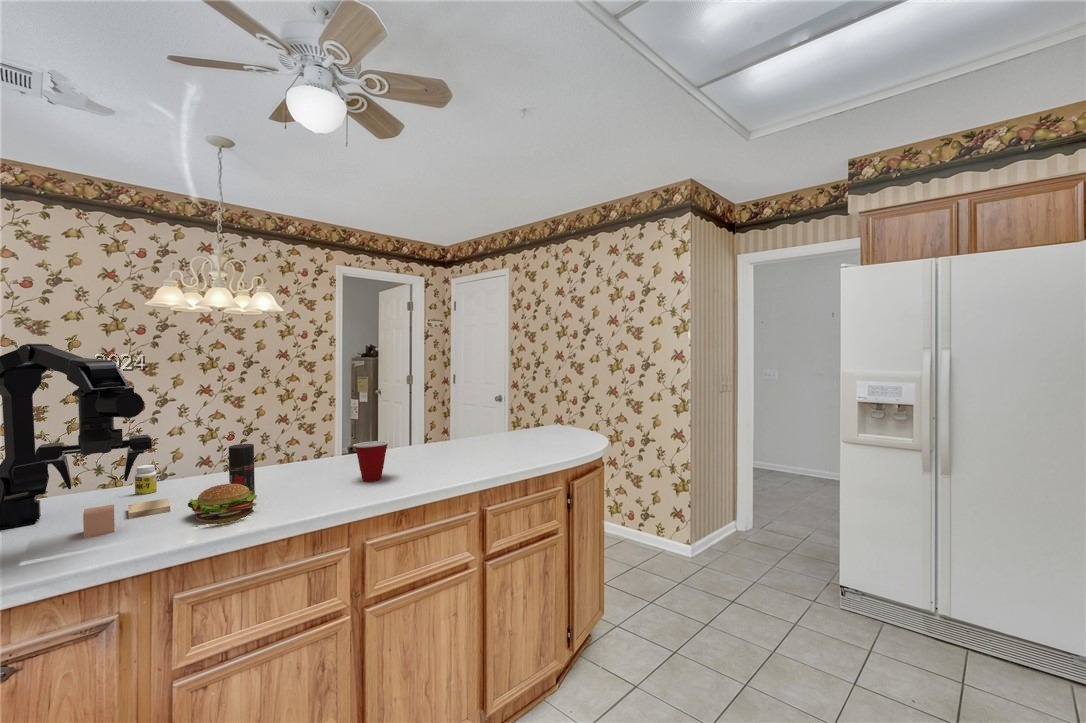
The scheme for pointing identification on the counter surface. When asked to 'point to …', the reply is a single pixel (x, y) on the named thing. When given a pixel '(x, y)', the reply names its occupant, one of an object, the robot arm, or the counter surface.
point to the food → (223, 503)
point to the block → (98, 520)
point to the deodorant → (242, 465)
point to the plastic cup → (371, 459)
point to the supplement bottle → (145, 480)
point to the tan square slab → (148, 508)
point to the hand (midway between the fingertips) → (98, 484)
